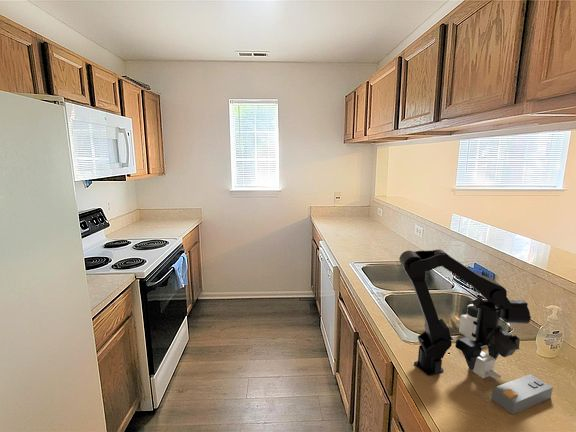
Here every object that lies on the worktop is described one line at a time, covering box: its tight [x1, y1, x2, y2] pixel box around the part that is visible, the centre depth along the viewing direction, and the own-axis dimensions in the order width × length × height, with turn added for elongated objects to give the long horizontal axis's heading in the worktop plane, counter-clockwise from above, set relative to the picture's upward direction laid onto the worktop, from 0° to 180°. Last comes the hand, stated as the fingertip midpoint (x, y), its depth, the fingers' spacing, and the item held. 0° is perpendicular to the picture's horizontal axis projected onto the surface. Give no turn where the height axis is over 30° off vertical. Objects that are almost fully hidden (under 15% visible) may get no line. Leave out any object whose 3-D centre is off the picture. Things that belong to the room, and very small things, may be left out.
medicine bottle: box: [458, 303, 478, 341], centre depth 123 cm, size 7×7×12 cm
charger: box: [471, 350, 502, 381], centre depth 102 cm, size 8×4×6 cm, turn 22°
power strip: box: [491, 373, 553, 415], centre depth 92 cm, size 6×16×4 cm, turn 112°
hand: (481, 366), depth 104 cm, fingers open, 9 cm apart
